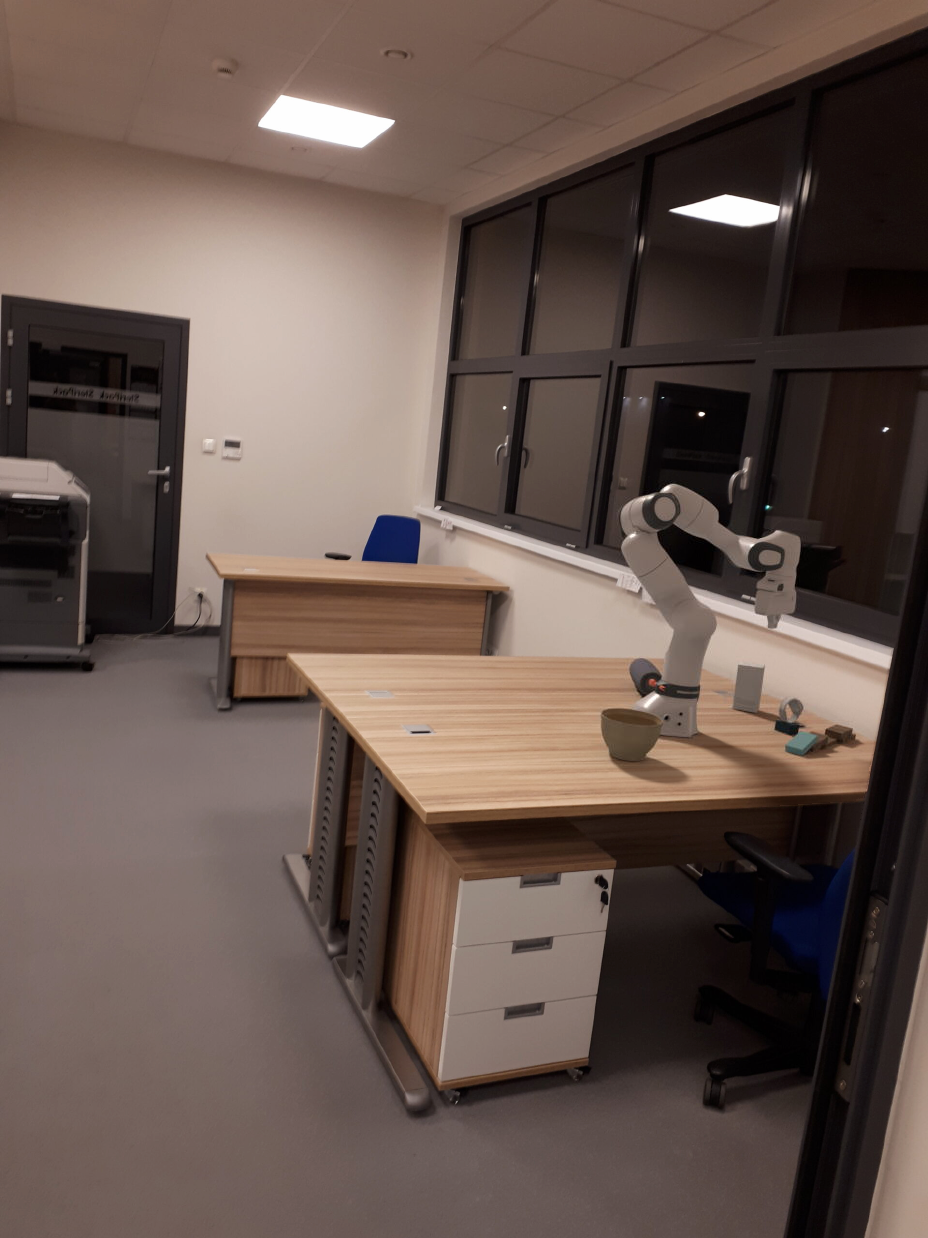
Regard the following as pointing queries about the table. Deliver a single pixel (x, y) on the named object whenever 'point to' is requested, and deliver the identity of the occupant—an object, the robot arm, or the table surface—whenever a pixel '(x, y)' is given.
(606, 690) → the table surface
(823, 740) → the walnut domino
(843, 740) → the walnut domino
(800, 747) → the teal domino
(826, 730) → the walnut domino
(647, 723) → the planter bowl
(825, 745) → the walnut domino
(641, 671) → the bluetooth speaker
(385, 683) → the table surface
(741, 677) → the skincare box
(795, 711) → the watch
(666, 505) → the robot arm
